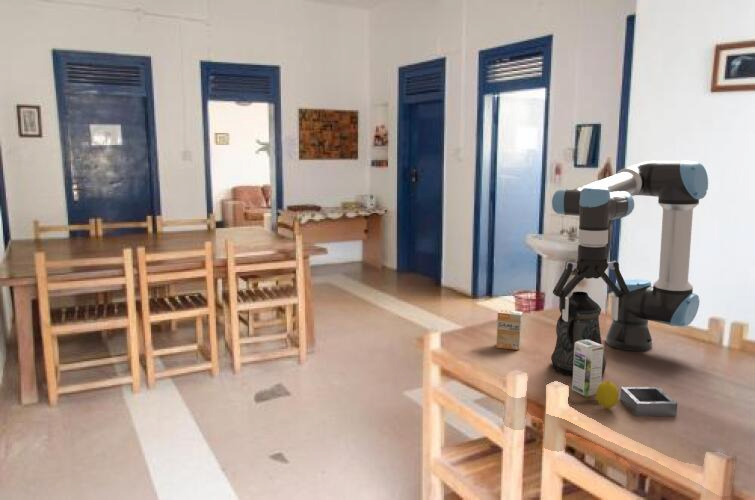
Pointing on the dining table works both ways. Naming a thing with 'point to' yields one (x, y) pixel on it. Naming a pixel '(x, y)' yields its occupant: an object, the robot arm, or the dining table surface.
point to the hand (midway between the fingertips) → (589, 319)
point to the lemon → (607, 394)
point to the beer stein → (576, 331)
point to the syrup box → (587, 367)
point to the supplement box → (509, 329)
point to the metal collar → (658, 408)
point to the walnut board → (580, 397)
